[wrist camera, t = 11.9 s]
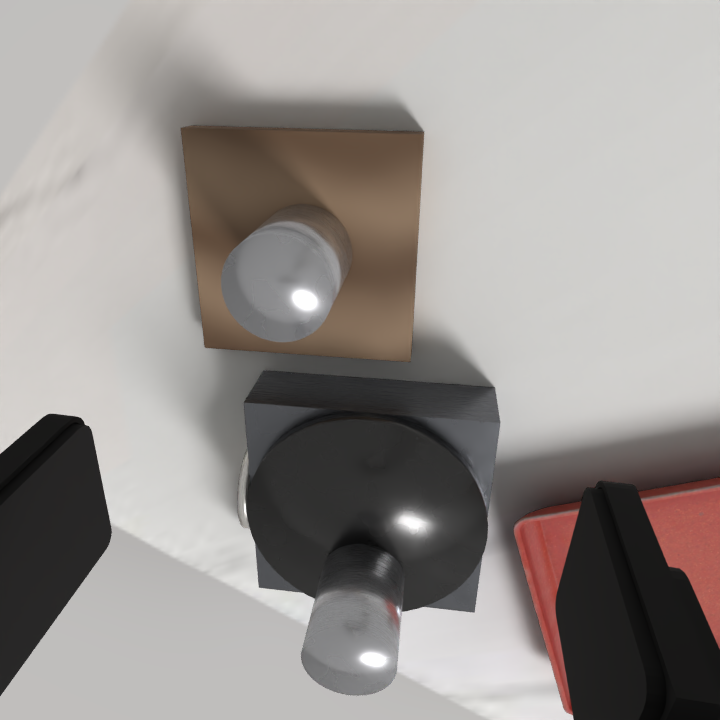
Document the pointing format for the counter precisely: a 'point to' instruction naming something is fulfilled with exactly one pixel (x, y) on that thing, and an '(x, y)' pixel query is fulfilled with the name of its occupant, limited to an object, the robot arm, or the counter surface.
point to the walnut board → (328, 191)
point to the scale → (369, 480)
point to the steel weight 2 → (355, 621)
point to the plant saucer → (673, 531)
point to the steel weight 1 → (287, 273)
